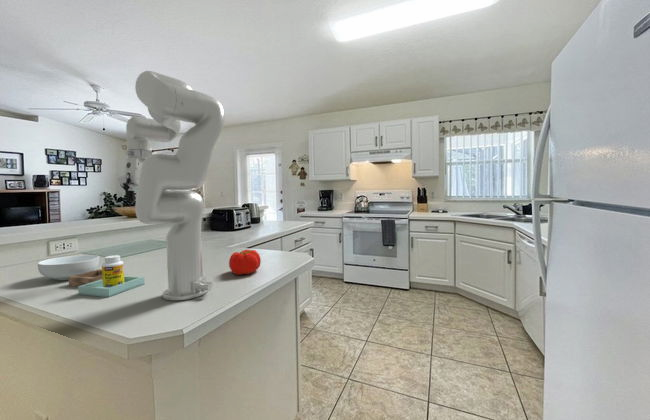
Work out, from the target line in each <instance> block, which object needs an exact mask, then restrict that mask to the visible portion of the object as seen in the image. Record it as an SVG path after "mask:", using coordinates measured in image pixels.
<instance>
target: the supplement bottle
mask: <svg viewBox="0 0 650 420" xmlns="http://www.w3.org/2000/svg"><path fill="white" fill-rule="evenodd" d="M124 265H125V264H124V261H123V260H121V256H120V255H117V254H115V255H108V256H105V257H104V262H103V263H102V264H101V269H102V279H103V287H109V288H110V287H113V286H116V285H119V284H122V283H124V276H125V268H124Z"/></svg>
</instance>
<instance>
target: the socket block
mask: <svg viewBox="0 0 650 420" xmlns="http://www.w3.org/2000/svg"><path fill="white" fill-rule="evenodd" d="M68 279H69V280H68V286H69V287H78V286H81V285H85V284H88V283H92V282H95V281H98V280H102V268H100V269H99V268H98V269H94V270H93V271H90V272H86V273H82V274H78V275H74V276H70V277H68Z"/></svg>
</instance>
